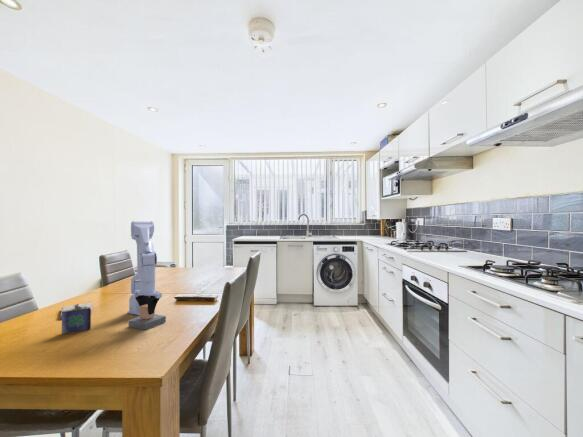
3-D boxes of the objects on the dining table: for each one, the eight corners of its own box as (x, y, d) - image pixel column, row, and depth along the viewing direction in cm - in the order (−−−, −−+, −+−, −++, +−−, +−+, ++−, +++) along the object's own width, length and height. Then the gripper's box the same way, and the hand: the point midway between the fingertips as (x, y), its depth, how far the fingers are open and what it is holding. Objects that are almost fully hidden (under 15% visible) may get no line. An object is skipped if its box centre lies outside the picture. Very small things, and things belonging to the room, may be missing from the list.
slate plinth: (128, 326, 116) (128, 319, 116) (149, 318, 125) (149, 312, 125) (145, 330, 112) (145, 323, 112) (165, 321, 121) (165, 315, 121)
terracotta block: (139, 317, 117) (139, 306, 117) (148, 315, 121) (148, 303, 121) (146, 319, 115) (146, 307, 116) (154, 316, 119) (154, 304, 119)
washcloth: (60, 321, 123) (60, 314, 123) (60, 311, 137) (60, 305, 137) (93, 315, 131) (93, 309, 131) (90, 306, 144) (90, 300, 144)
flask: (60, 335, 107) (61, 307, 107) (62, 332, 109) (62, 305, 110) (90, 330, 112) (90, 303, 112) (91, 328, 114) (91, 301, 114)
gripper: (127, 281, 118) (127, 313, 118) (151, 284, 112) (151, 318, 112) (142, 278, 124) (142, 308, 124) (166, 281, 118) (165, 313, 118)
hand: (147, 313), depth 118 cm, fingers closed on terracotta block, 4 cm apart
